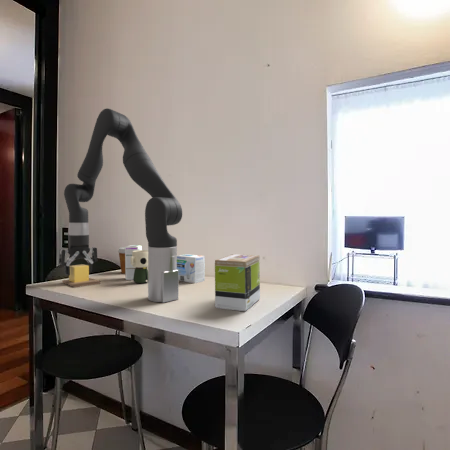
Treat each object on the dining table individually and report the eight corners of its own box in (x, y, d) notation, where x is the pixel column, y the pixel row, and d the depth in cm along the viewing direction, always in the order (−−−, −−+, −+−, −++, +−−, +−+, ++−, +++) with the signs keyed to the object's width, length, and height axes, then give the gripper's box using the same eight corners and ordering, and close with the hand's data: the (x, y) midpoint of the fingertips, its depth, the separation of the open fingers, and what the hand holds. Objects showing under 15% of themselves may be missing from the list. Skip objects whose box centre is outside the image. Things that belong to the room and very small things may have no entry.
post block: (100, 283, 125) (100, 271, 124) (74, 287, 117) (74, 274, 117) (87, 279, 133) (87, 267, 133) (62, 282, 125) (62, 270, 125)
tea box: (232, 296, 106) (232, 253, 106) (260, 299, 102) (261, 254, 102) (213, 308, 92) (214, 258, 92) (245, 312, 88) (246, 260, 88)
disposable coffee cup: (114, 274, 145) (113, 248, 145) (123, 270, 155) (123, 246, 154) (133, 275, 144) (133, 249, 143) (141, 271, 153) (141, 247, 153)
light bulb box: (175, 280, 132) (175, 255, 132) (186, 278, 138) (186, 253, 138) (195, 283, 126) (195, 257, 126) (205, 280, 132) (205, 255, 132)
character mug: (137, 286, 120) (137, 252, 120) (124, 284, 124) (124, 251, 124) (157, 281, 130) (157, 250, 130) (144, 279, 134) (144, 249, 133)
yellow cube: (88, 280, 125) (88, 265, 125) (74, 282, 121) (74, 267, 121) (82, 278, 129) (82, 264, 129) (68, 280, 125) (68, 265, 125)
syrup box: (138, 280, 132) (138, 246, 131) (124, 280, 132) (124, 246, 131) (142, 277, 137) (142, 245, 137) (129, 277, 137) (129, 244, 137)
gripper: (63, 235, 117) (63, 277, 117) (100, 233, 128) (100, 273, 128) (56, 234, 122) (56, 275, 123) (92, 233, 133) (92, 270, 133)
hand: (78, 274), depth 125 cm, fingers open, 8 cm apart
